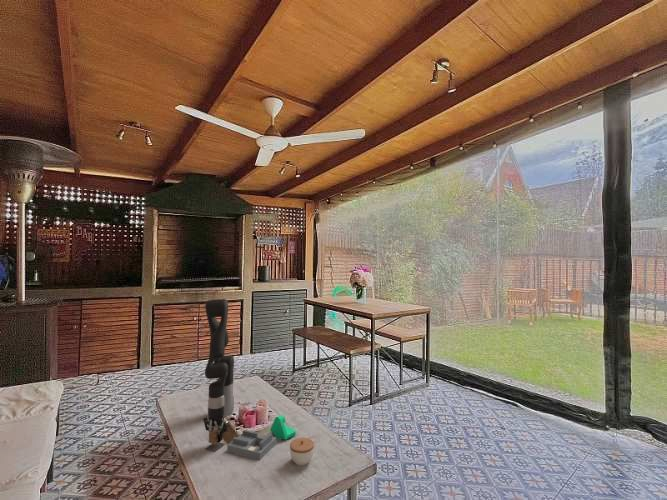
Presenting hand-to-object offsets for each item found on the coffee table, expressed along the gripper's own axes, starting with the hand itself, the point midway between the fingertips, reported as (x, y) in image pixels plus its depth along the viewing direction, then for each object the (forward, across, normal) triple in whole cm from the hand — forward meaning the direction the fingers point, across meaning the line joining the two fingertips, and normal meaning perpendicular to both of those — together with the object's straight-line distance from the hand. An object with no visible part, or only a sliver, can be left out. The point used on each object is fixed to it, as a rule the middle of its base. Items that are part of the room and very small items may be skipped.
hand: (215, 440), depth 160 cm
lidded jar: (+3, -44, -4) cm, 44 cm away
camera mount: (+3, -25, -22) cm, 33 cm away
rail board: (+3, -17, -5) cm, 18 cm away
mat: (+3, 0, 0) cm, 3 cm away
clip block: (-2, 0, 0) cm, 2 cm away
